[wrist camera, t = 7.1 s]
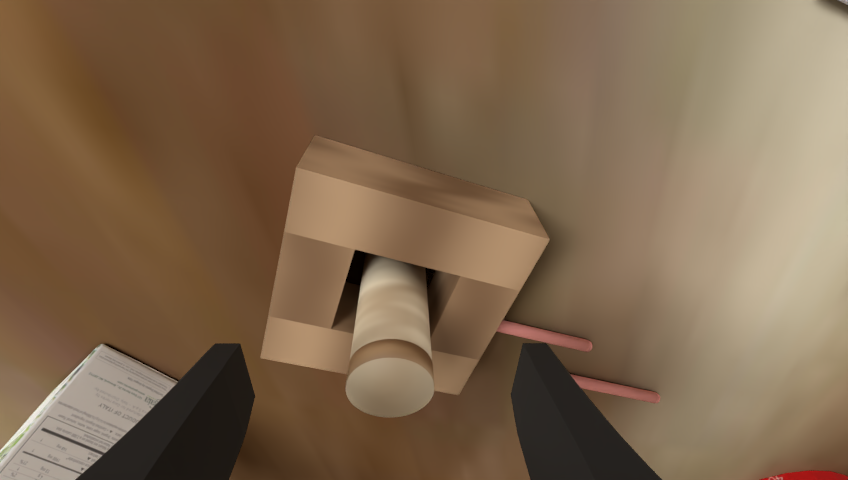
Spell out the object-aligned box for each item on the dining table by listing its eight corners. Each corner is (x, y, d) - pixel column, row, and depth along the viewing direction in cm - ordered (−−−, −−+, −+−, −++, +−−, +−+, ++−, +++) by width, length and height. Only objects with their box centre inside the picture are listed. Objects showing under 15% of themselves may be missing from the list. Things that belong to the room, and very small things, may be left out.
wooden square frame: (527, 199, 19) (549, 239, 16) (451, 344, 24) (458, 395, 21) (314, 134, 17) (296, 167, 14) (279, 307, 22) (260, 357, 19)
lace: (688, 360, 26) (694, 369, 25) (652, 397, 28) (658, 406, 27) (456, 306, 23) (457, 315, 22) (433, 351, 25) (434, 360, 24)
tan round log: (431, 237, 20) (445, 367, 14) (416, 285, 22) (421, 422, 15) (371, 225, 20) (353, 353, 13) (359, 274, 21) (338, 411, 15)
